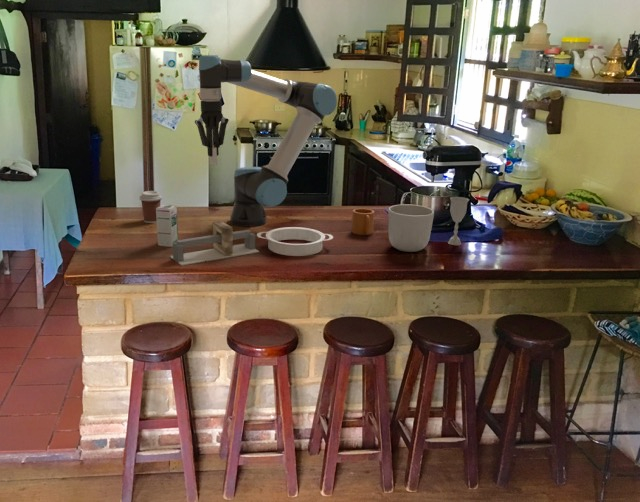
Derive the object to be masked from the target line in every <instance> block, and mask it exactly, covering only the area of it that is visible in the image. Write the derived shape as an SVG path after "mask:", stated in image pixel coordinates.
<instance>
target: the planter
mask: <svg viewBox="0 0 640 502" xmlns="http://www.w3.org/2000/svg"><path fill="white" fill-rule="evenodd" d="M434 217H435V211H434V210H433V209H432V208H431V207H428V206H424V205H417V204H407V203H406V204H403V203H402V204H394V205H391V206H389V207H388V230H387V231H388V239H389V240H388V241H389V243H390V244H391V246H392V247H393V248H395V249H396V250H398V251H401V252H407V253H413V252H415V253H416V252H419V251H422V250H423V249H425V247H427V245H428V243H429V241H430V238H431V233H432V232H431V231H432V227H433V221H434Z"/></svg>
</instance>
